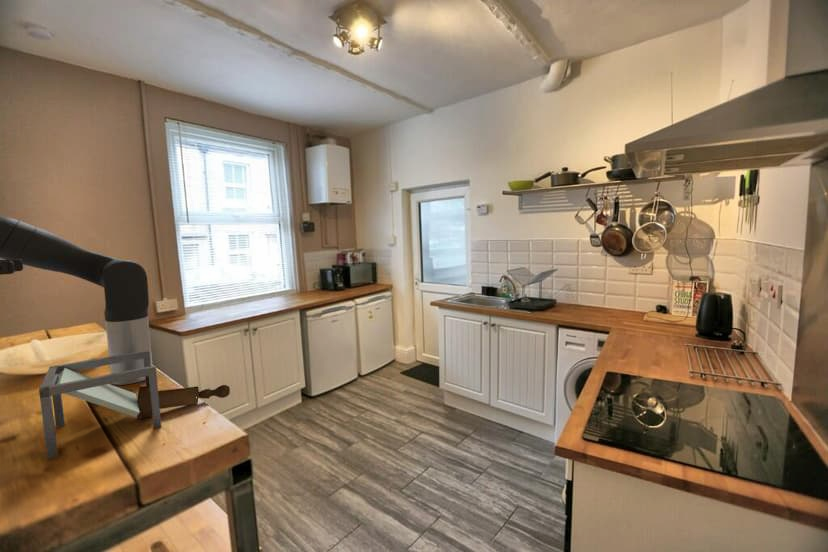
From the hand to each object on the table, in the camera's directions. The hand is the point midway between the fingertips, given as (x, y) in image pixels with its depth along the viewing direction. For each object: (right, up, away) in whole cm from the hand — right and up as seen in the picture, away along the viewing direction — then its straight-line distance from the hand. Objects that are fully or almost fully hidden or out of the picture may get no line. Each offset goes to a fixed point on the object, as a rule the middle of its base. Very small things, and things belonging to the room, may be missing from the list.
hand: (18, 266), depth 64 cm
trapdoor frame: (+9, -33, +10) cm, 35 cm away
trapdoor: (+7, -26, +8) cm, 28 cm away
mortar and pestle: (+11, -29, +13) cm, 34 cm away
